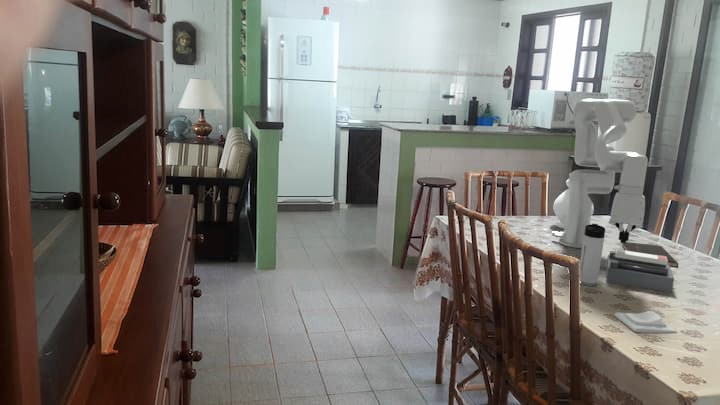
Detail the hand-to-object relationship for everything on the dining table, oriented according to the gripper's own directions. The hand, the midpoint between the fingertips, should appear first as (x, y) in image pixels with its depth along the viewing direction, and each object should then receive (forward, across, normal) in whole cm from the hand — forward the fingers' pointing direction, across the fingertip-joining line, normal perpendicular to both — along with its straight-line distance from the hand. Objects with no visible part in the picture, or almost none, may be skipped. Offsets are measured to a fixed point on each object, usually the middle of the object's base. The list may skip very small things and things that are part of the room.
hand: (622, 242), depth 199 cm
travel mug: (+13, -10, -12) cm, 20 cm away
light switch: (+14, +6, -40) cm, 43 cm away
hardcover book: (+13, +12, +37) cm, 41 cm away
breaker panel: (+13, +6, +1) cm, 14 cm away
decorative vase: (+11, -19, +68) cm, 71 cm away
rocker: (+4, +6, +1) cm, 8 cm away
